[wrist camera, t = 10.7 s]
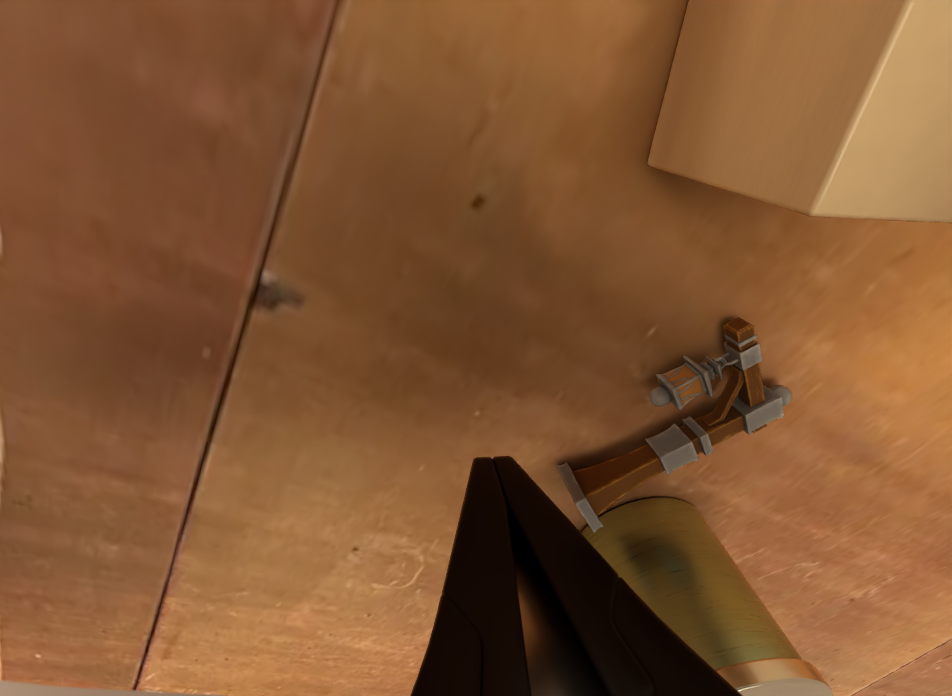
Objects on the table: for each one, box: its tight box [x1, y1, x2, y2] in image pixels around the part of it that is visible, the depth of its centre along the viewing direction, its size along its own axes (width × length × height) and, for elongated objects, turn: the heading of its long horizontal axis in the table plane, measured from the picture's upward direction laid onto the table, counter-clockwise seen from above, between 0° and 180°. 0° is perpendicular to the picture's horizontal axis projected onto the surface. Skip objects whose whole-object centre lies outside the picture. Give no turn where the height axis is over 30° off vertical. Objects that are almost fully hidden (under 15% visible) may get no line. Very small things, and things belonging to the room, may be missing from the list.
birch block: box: [647, 0, 952, 223], centre depth 8 cm, size 8×4×5 cm, turn 86°
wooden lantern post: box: [557, 317, 792, 533], centre depth 14 cm, size 2×8×4 cm
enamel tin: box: [581, 497, 833, 696], centre depth 16 cm, size 6×6×6 cm
